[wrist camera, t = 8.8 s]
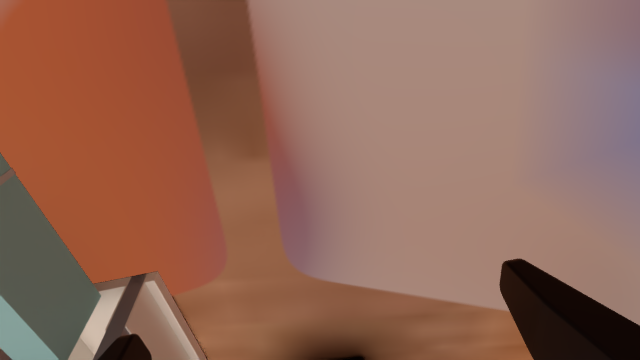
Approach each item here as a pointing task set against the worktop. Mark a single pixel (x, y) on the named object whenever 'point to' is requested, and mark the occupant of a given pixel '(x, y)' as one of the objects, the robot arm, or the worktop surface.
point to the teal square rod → (37, 280)
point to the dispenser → (136, 321)
